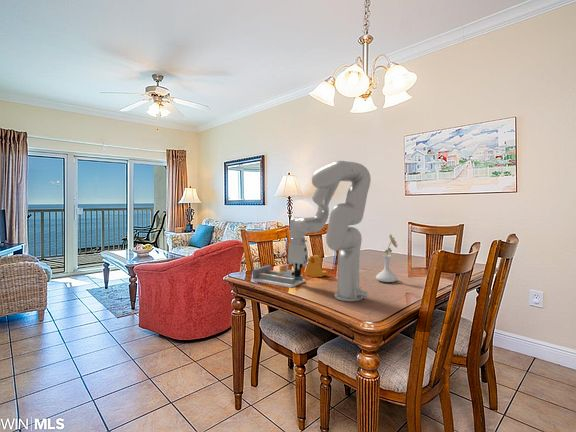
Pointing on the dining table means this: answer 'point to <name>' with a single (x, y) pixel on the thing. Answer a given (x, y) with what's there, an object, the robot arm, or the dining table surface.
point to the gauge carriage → (286, 272)
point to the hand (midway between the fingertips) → (297, 276)
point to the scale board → (274, 277)
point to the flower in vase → (387, 266)
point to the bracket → (315, 267)
